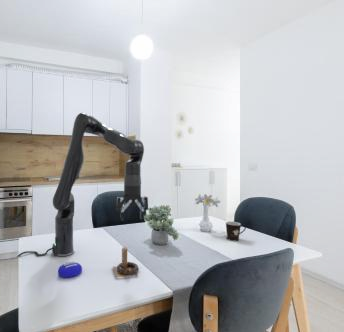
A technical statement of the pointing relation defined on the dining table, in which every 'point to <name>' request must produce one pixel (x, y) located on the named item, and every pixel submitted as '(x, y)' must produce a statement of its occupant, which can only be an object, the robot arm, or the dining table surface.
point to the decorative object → (69, 269)
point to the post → (123, 264)
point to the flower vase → (206, 211)
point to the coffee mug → (233, 230)
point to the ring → (128, 272)
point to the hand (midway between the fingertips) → (132, 219)
